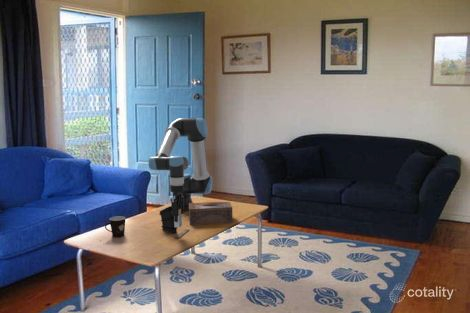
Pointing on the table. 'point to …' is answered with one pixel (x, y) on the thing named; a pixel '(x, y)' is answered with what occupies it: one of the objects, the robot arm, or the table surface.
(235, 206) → the table surface
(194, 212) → the tissue box cover
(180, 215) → the metal flashlight
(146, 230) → the table surface
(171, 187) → the robot arm
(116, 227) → the coffee mug
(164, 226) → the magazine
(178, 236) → the strip
